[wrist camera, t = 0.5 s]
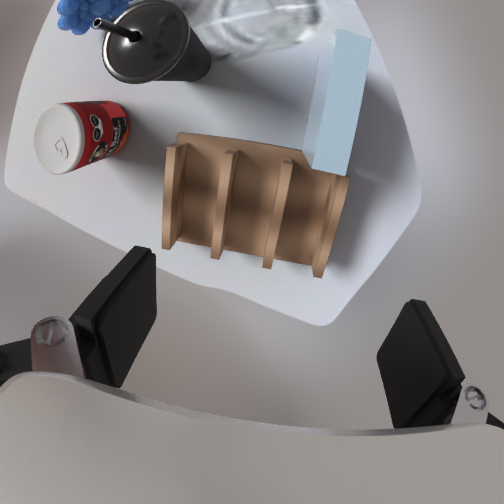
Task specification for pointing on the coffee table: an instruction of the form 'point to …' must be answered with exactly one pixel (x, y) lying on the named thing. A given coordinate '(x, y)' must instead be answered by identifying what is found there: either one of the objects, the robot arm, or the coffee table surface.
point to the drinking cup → (152, 45)
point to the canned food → (79, 134)
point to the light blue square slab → (336, 102)
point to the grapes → (87, 13)
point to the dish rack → (250, 200)
